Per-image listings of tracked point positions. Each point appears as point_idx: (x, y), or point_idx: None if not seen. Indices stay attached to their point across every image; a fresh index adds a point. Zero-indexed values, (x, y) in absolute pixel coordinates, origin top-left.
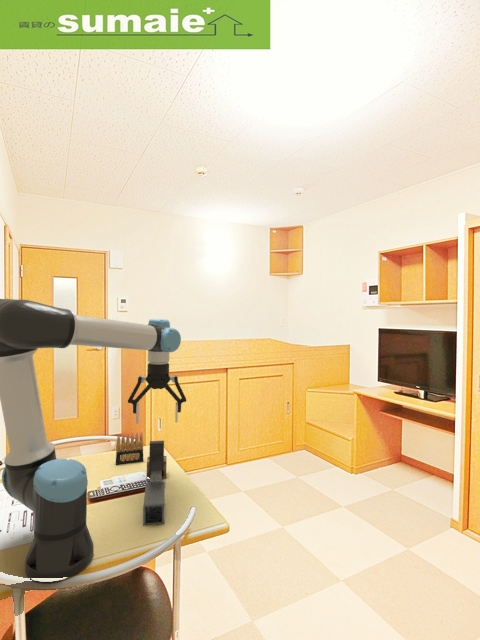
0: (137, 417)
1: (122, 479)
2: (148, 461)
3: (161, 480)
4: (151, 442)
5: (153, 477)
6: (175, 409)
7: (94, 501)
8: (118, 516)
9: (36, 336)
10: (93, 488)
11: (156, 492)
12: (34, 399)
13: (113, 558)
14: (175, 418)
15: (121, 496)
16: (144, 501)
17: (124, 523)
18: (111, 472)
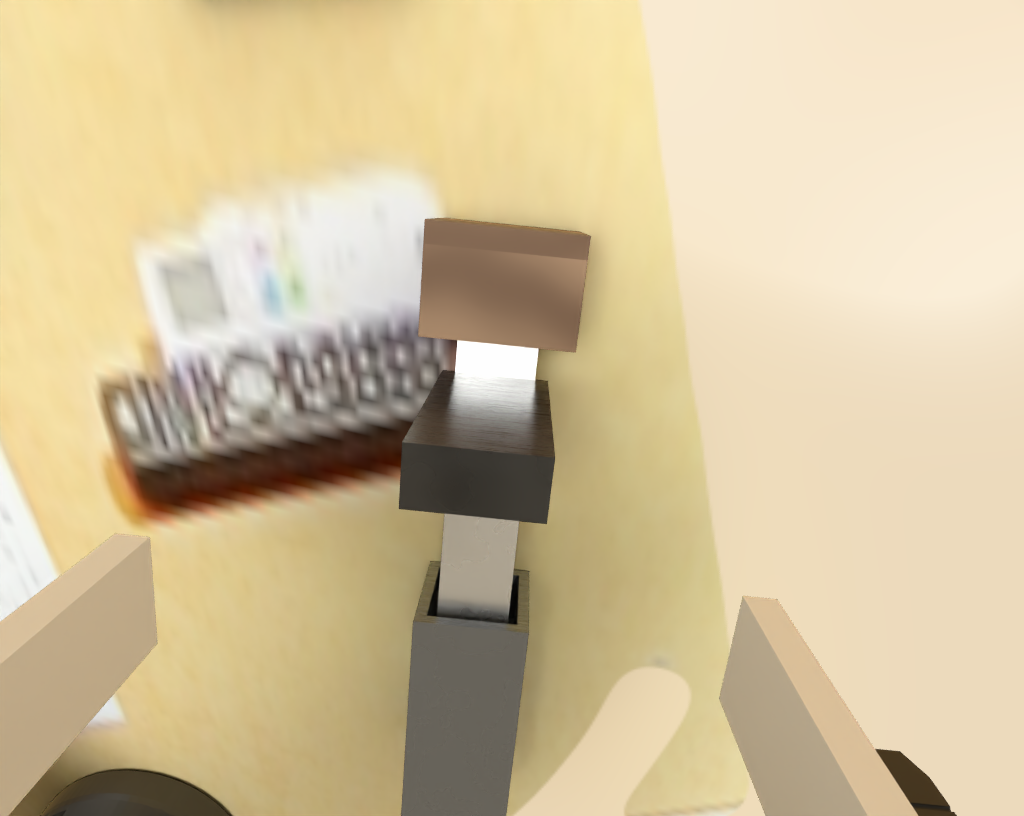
0: (83, 709)
1: (279, 272)
2: (430, 324)
3: (513, 568)
4: (418, 484)
5: (465, 518)
6: (822, 738)
7: (164, 504)
8: (307, 658)
9: None
10: (119, 355)
11: (469, 737)
12: None
13: None
14: (738, 745)
15: (299, 487)
16: (405, 799)
17: (339, 712)
18: (184, 133)
